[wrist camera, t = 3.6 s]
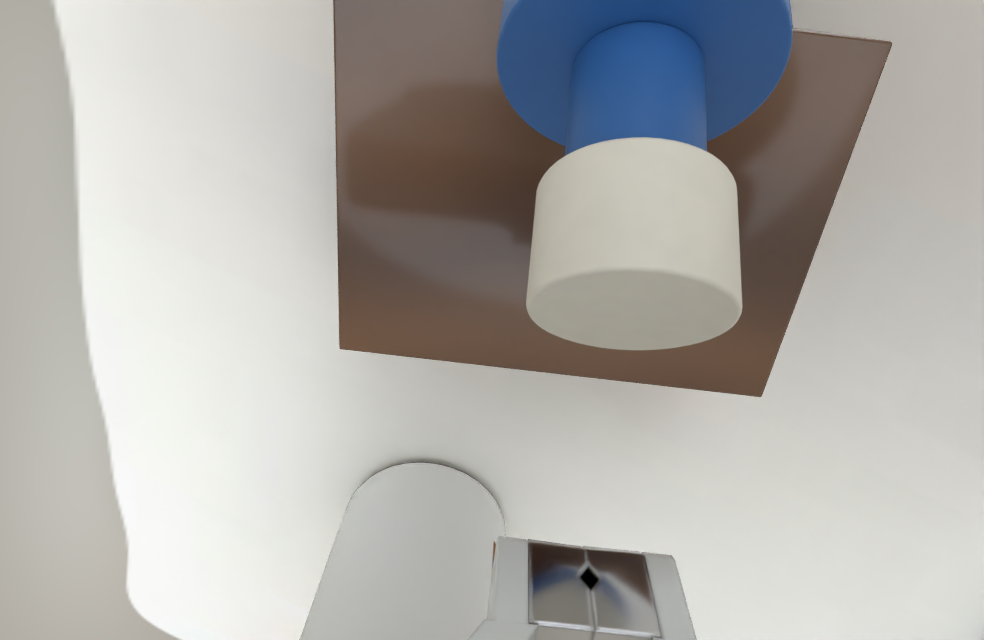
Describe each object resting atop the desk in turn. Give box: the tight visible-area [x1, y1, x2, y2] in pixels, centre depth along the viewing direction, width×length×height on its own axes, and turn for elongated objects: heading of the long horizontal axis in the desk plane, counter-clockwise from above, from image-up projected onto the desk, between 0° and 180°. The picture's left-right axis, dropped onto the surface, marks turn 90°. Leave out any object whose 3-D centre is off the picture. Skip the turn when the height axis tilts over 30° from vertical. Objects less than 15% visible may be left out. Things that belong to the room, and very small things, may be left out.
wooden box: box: [333, 0, 892, 397], centre depth 19 cm, size 10×13×6 cm
